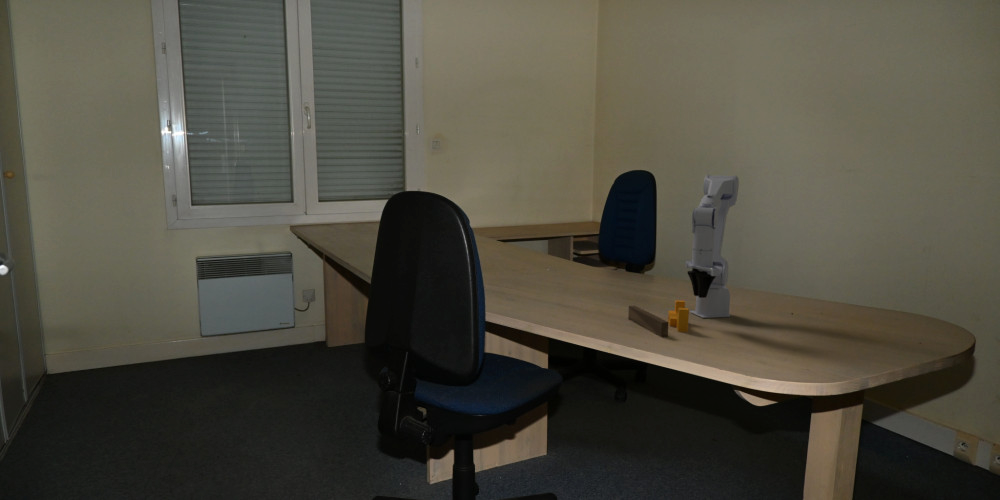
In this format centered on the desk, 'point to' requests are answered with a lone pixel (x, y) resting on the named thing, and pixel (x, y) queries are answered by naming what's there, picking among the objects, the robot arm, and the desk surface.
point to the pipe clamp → (679, 316)
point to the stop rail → (648, 321)
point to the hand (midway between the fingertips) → (700, 296)
